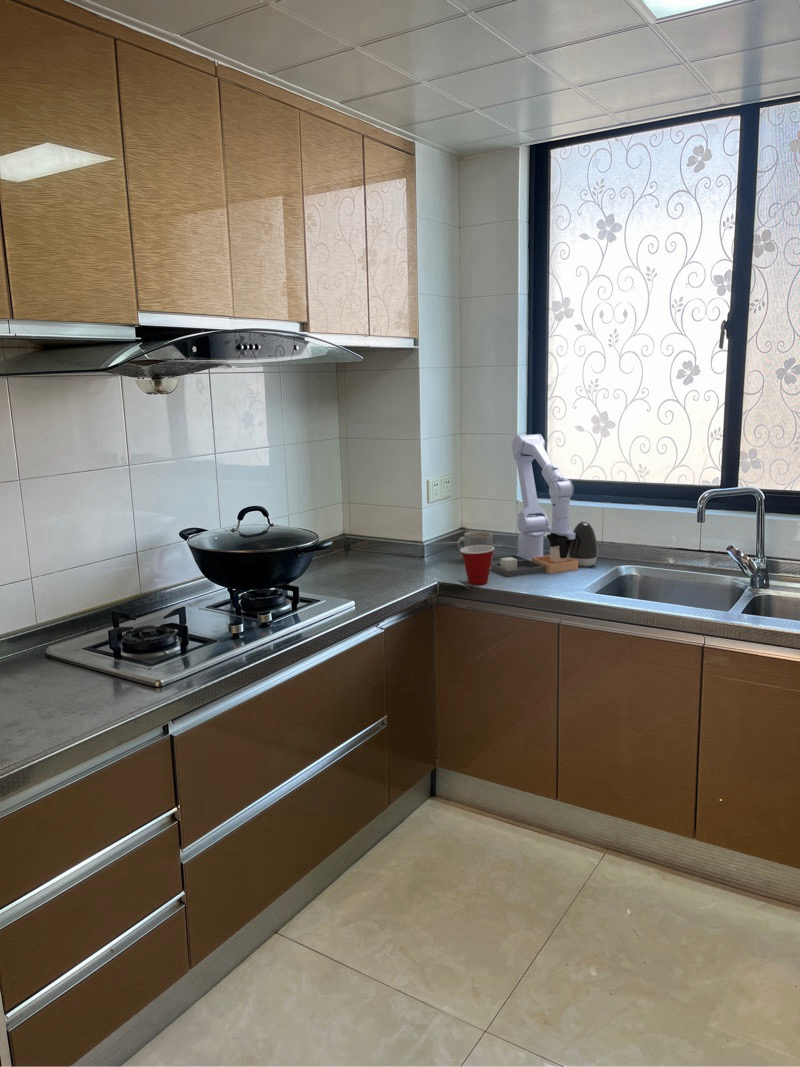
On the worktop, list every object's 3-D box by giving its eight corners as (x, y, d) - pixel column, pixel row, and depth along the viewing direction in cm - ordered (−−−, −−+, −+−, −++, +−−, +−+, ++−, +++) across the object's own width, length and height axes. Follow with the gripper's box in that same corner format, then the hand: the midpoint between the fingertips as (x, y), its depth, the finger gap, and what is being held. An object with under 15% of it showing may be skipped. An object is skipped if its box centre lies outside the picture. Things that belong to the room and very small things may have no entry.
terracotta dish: (531, 567, 273) (531, 557, 272) (559, 564, 277) (559, 554, 276) (549, 575, 263) (549, 564, 262) (578, 571, 267) (578, 561, 266)
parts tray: (490, 571, 269) (490, 563, 269) (527, 566, 275) (527, 559, 274) (507, 579, 259) (507, 571, 259) (545, 574, 264) (545, 566, 264)
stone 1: (500, 571, 267) (500, 558, 266) (510, 570, 268) (510, 557, 267) (506, 574, 263) (506, 560, 262) (516, 572, 264) (517, 559, 264)
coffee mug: (498, 561, 282) (498, 534, 280) (478, 566, 276) (478, 538, 274) (471, 555, 292) (471, 528, 290) (451, 560, 286) (451, 532, 284)
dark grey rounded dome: (595, 561, 280) (597, 519, 277) (599, 569, 270) (601, 524, 267) (565, 561, 281) (567, 519, 278) (569, 568, 271) (570, 524, 268)
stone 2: (549, 560, 271) (549, 547, 270) (559, 558, 272) (560, 545, 271) (556, 562, 267) (556, 549, 266) (566, 561, 269) (566, 548, 268)
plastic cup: (462, 579, 260) (462, 543, 257) (495, 580, 258) (495, 544, 255) (457, 588, 249) (457, 550, 247) (492, 589, 247) (492, 551, 245)
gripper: (538, 514, 272) (537, 553, 275) (562, 521, 259) (561, 562, 262) (556, 512, 275) (555, 551, 278) (581, 519, 262) (579, 560, 264)
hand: (559, 556), depth 270 cm, fingers closed on stone 2, 4 cm apart
